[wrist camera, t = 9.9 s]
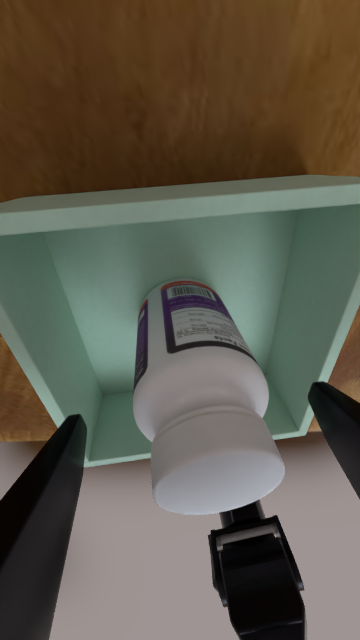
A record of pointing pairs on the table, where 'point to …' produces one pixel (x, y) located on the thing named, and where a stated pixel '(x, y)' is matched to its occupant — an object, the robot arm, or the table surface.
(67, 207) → the bin
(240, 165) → the table surface
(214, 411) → the pill bottle
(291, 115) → the table surface
